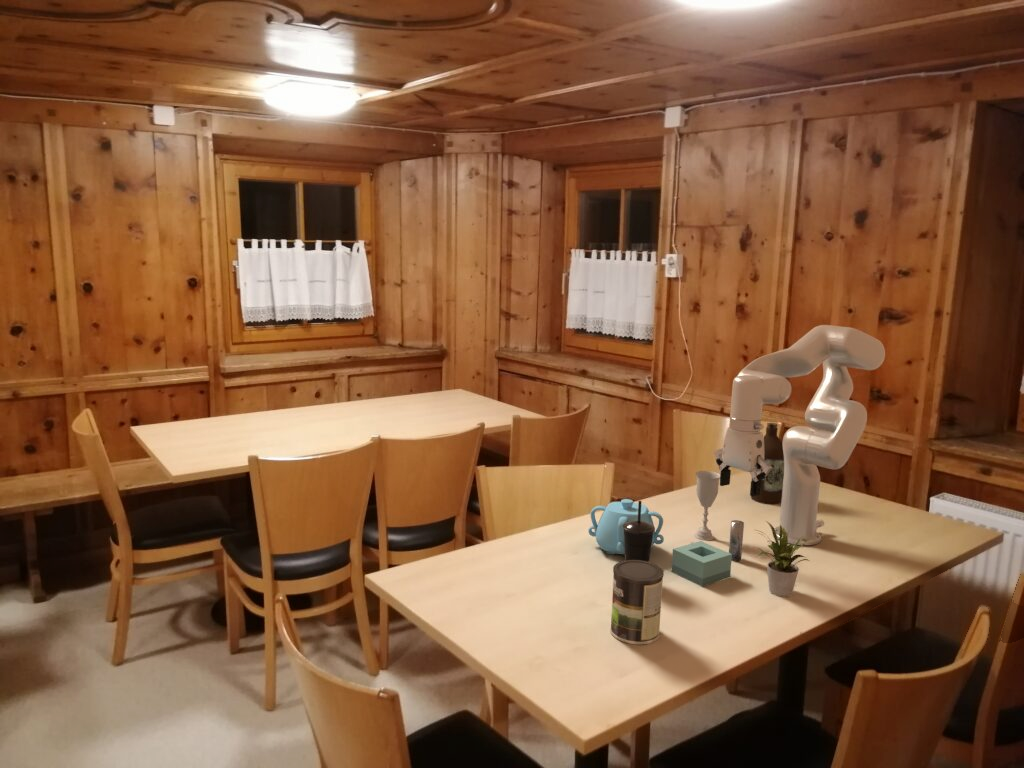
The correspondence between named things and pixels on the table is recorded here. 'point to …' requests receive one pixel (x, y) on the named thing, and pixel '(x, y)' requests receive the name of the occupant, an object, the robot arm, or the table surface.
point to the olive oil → (775, 458)
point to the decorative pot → (620, 524)
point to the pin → (736, 540)
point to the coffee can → (636, 601)
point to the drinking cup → (638, 538)
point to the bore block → (701, 563)
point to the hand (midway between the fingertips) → (739, 490)
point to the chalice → (706, 498)
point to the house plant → (782, 564)
